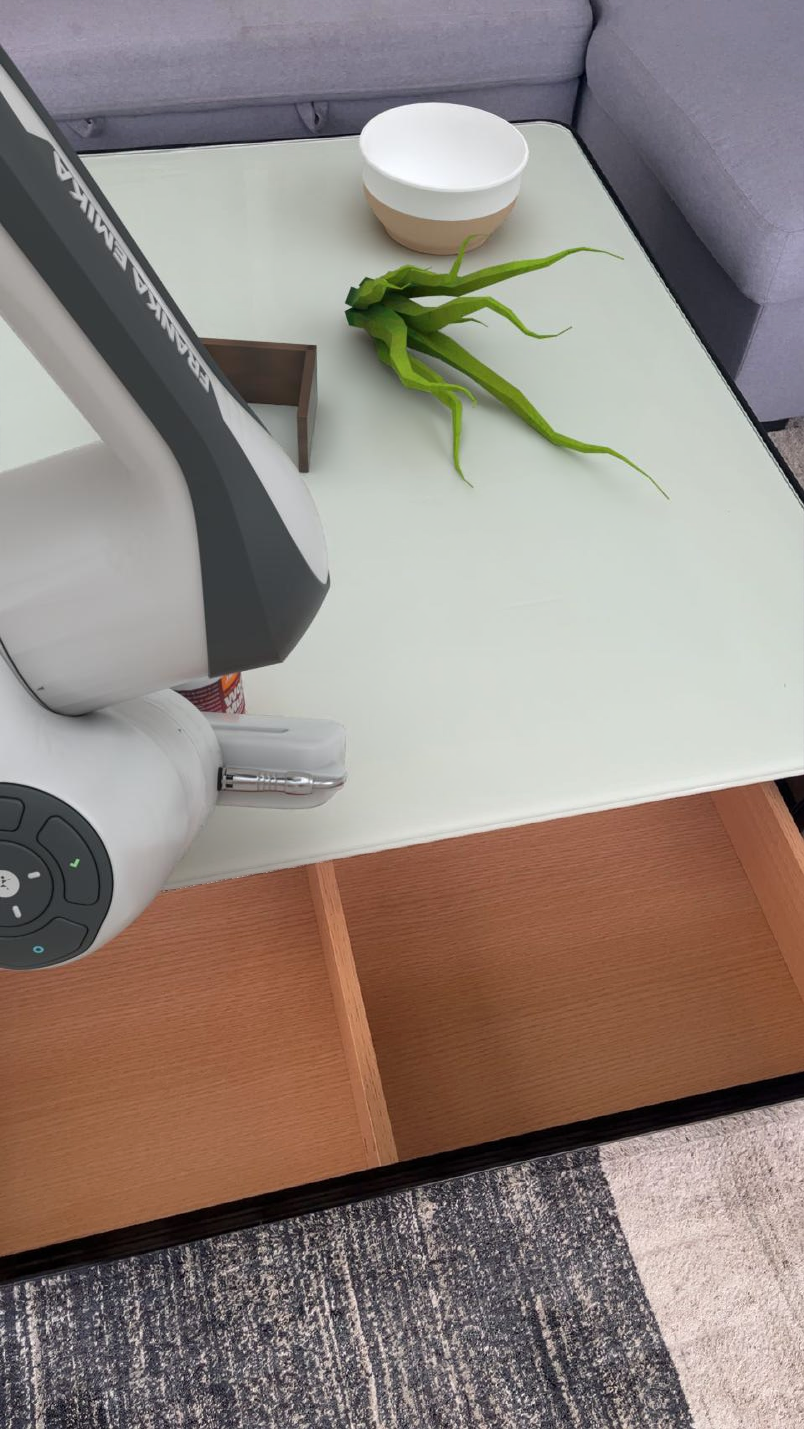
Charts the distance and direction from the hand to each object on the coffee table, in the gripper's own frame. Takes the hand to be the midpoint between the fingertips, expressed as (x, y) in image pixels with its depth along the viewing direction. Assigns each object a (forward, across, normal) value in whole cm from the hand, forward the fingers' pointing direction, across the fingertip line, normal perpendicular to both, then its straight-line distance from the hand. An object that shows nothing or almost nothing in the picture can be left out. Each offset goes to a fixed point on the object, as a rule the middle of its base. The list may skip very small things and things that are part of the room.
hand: (182, 724), depth 64 cm
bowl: (+49, -14, -43) cm, 67 cm away
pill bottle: (+6, 0, +1) cm, 6 cm away
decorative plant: (+30, -20, -23) cm, 42 cm away
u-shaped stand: (+27, 0, -20) cm, 33 cm away
